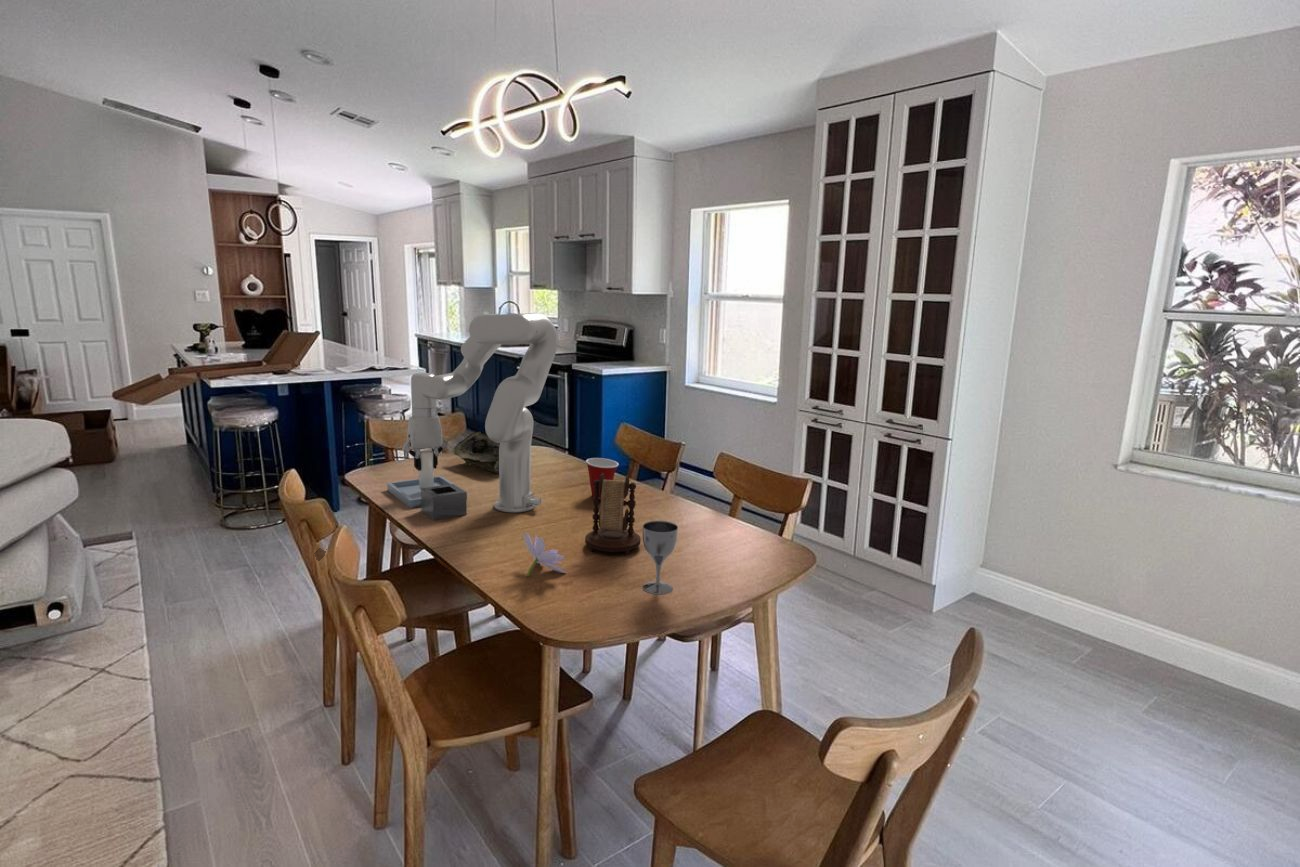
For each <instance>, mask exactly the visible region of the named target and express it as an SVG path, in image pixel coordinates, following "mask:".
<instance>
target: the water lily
mask: <svg viewBox="0 0 1300 867" xmlns="http://www.w3.org/2000/svg"><path fill="white" fill-rule="evenodd" d="M522 536H523V539H524V543H525V546H526V548H527V550H528V552H529V553H530V554H531V555H532V556H533V563H532V564H531V566H530V568H529V570H528V571H527V574H526V577H530V575H531V573H532V571H533V569H534V567H535V565H536V564H542V565H544V566H546V567H547V568H549V569H551V570H552V571H555V572H558V573H562V574H567V572H566V571H564V569H563V568H561V567H560V566H557V565H559V564H560V565H561V564H564V562H561V560H563V559H565V558H566V556H564V555H561V554H559V553H558V552H559V550H558V549H549V550H545V549H546V543H545V540H544V538H543V537H538V534H535V537H534V544H533V540H532V538H531V536H530V534H529V533H528V532H526V534H525V533H524V532H522Z"/></svg>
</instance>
